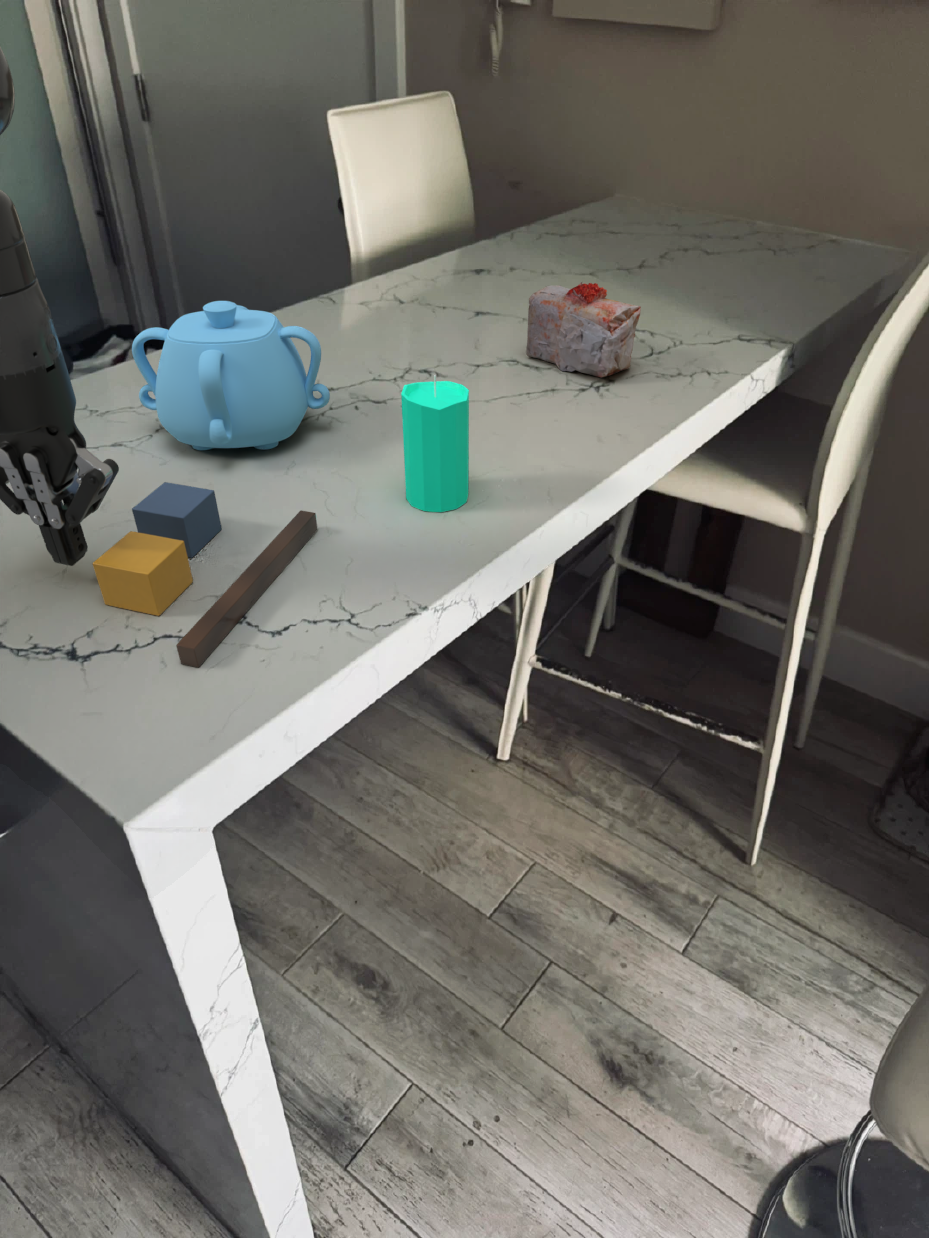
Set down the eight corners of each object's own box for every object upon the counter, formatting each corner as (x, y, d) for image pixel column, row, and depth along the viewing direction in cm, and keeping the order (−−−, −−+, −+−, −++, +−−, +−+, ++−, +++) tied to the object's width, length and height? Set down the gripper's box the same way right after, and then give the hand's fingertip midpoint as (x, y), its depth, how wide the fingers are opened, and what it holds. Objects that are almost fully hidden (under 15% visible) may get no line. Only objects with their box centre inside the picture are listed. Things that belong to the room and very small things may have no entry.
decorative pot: (270, 389, 104) (253, 271, 95) (345, 434, 94) (333, 306, 86) (139, 427, 95) (107, 301, 87) (206, 481, 85) (178, 344, 77)
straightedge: (198, 668, 63) (193, 649, 62) (180, 664, 64) (175, 644, 62) (317, 530, 78) (315, 512, 77) (302, 527, 79) (300, 510, 78)
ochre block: (159, 616, 68) (147, 574, 66) (104, 605, 69) (91, 563, 67) (193, 581, 72) (184, 540, 69) (141, 571, 73) (130, 530, 71)
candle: (395, 505, 82) (388, 382, 75) (421, 476, 86) (417, 358, 79) (454, 517, 80) (453, 393, 73) (478, 487, 84) (479, 368, 77)
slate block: (192, 558, 75) (183, 518, 72) (141, 548, 76) (131, 508, 73) (222, 529, 78) (214, 489, 76) (173, 520, 80) (164, 481, 77)
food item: (642, 368, 109) (653, 287, 103) (608, 388, 104) (616, 304, 98) (552, 343, 116) (557, 266, 110) (516, 361, 111) (519, 281, 105)
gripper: (-117, 360, 59) (-29, 570, 70) (46, 383, 56) (112, 599, 67) (-36, 324, 65) (34, 524, 76) (116, 343, 62) (167, 549, 72)
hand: (71, 559), depth 71 cm, fingers closed
